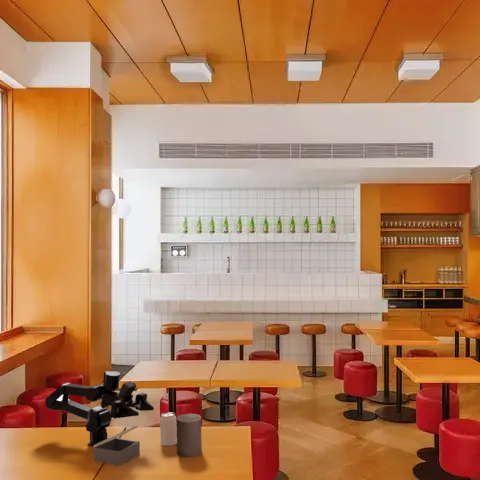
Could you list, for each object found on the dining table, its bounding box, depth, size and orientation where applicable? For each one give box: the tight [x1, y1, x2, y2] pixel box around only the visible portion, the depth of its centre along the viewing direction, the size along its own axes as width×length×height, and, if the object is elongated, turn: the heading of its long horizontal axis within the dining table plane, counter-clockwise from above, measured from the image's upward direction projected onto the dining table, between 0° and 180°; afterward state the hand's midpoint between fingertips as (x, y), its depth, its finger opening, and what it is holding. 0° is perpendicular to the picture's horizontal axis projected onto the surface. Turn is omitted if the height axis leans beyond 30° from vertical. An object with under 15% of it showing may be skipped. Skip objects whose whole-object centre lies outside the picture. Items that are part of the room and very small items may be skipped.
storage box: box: [93, 437, 141, 467], centre depth 219 cm, size 12×12×5 cm
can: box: [159, 411, 177, 447], centre depth 232 cm, size 6×6×12 cm
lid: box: [92, 425, 138, 448], centre depth 219 cm, size 12×12×1 cm
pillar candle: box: [176, 413, 203, 458], centre depth 222 cm, size 10×10×15 cm
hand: (146, 411), depth 222 cm, fingers open, 9 cm apart
